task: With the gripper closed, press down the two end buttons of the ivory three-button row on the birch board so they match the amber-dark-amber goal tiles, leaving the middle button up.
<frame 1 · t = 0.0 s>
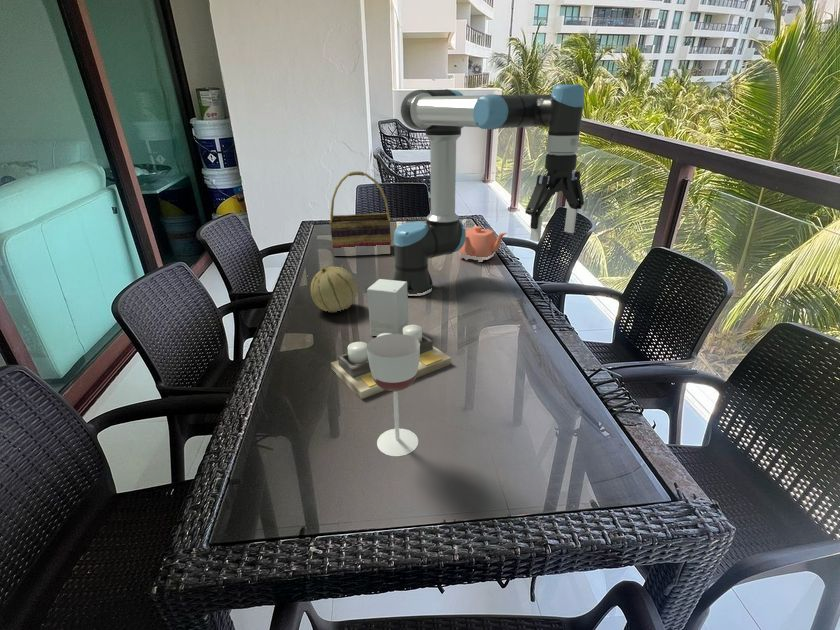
hand: (552, 236, 124), 28 cm above the table, fingers open, 13 cm apart
button 1: (358, 352, 113), point 6 cm above the table, slide at 0.0 cm
cantaloupe: (336, 310, 151), on the table
basket: (362, 251, 209), on the table
button 3: (412, 334, 121), point 6 cm above the table, slide at 0.0 cm
teapot: (477, 259, 197), on the table
wineglass: (397, 442, 92), on the table
board: (391, 367, 118), on the table
supplement box: (390, 332, 136), on the table
button 2: (386, 343, 117), point 6 cm above the table, slide at 0.0 cm
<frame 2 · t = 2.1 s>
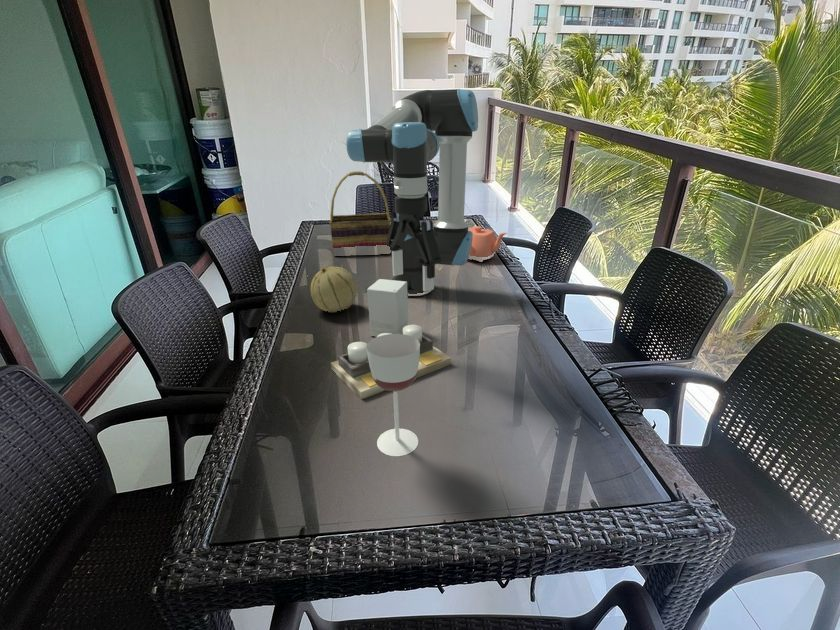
hand: (412, 282, 115), 21 cm above the table, fingers open, 13 cm apart
nothing on the table moved.
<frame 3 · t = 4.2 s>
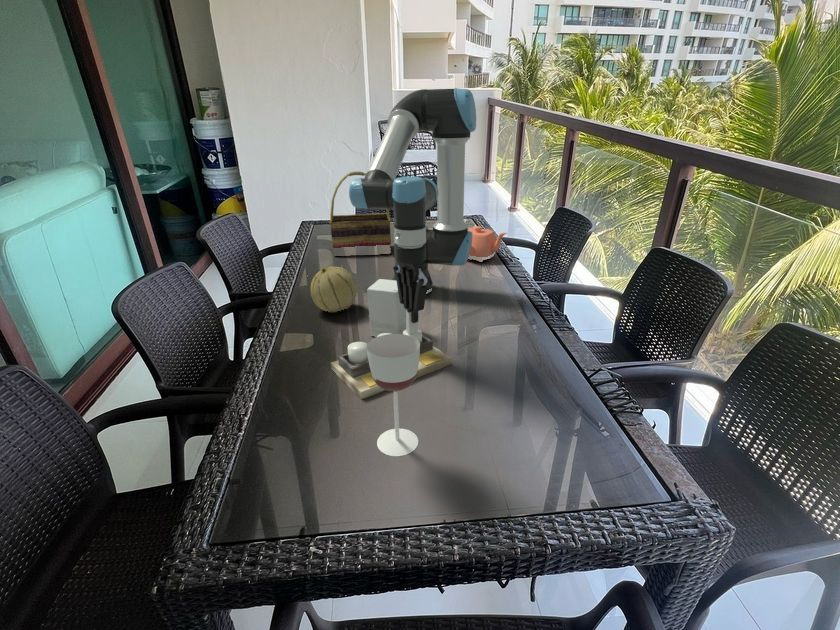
hand: (412, 331, 121), 7 cm above the table, fingers closed
button 3: (412, 338, 122), point 5 cm above the table, slide at 1.1 cm, touching gripper
everything else where it was.
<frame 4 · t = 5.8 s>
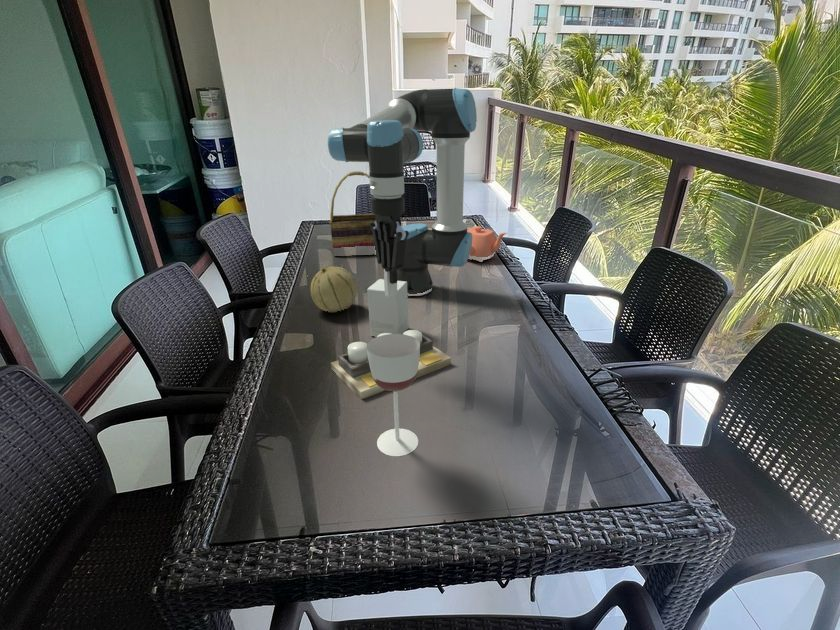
hand: (391, 294, 112), 19 cm above the table, fingers closed
button 3: (412, 340, 122), point 4 cm above the table, slide at 1.6 cm
everything else where it was.
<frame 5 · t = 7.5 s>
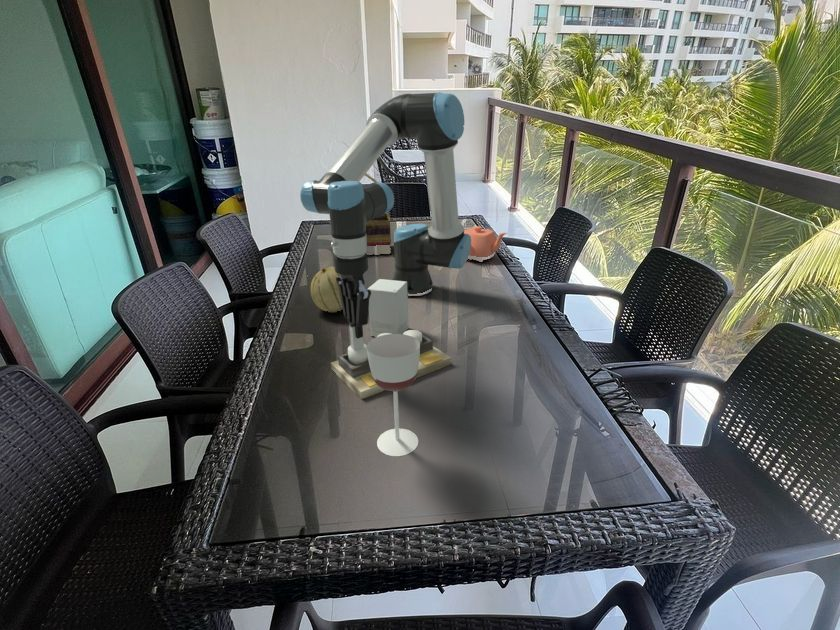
hand: (357, 347, 112), 8 cm above the table, fingers closed
button 1: (358, 354, 113), point 6 cm above the table, slide at 0.4 cm, touching gripper
everything else where it was.
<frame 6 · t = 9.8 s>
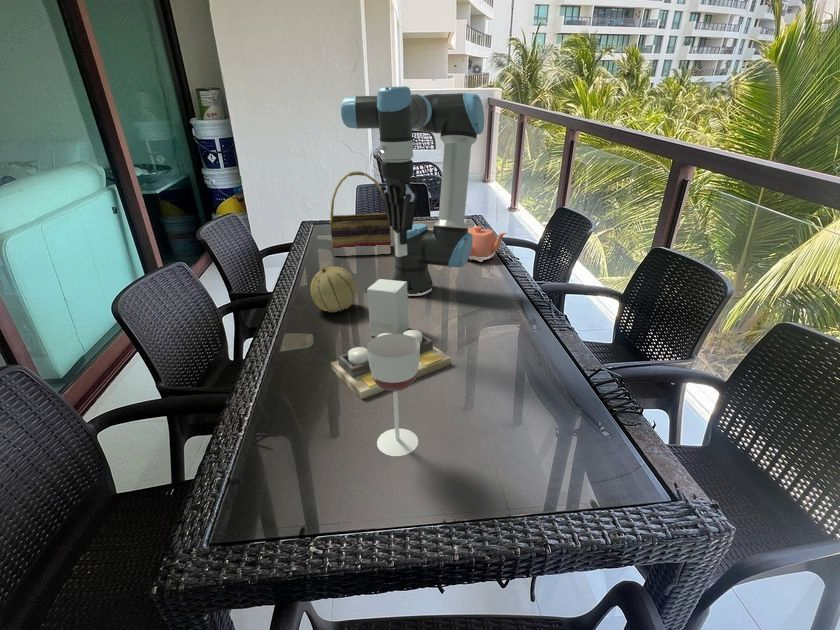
hand: (401, 255, 119), 26 cm above the table, fingers closed
button 1: (358, 358, 114), point 4 cm above the table, slide at 1.5 cm
everything else where it was.
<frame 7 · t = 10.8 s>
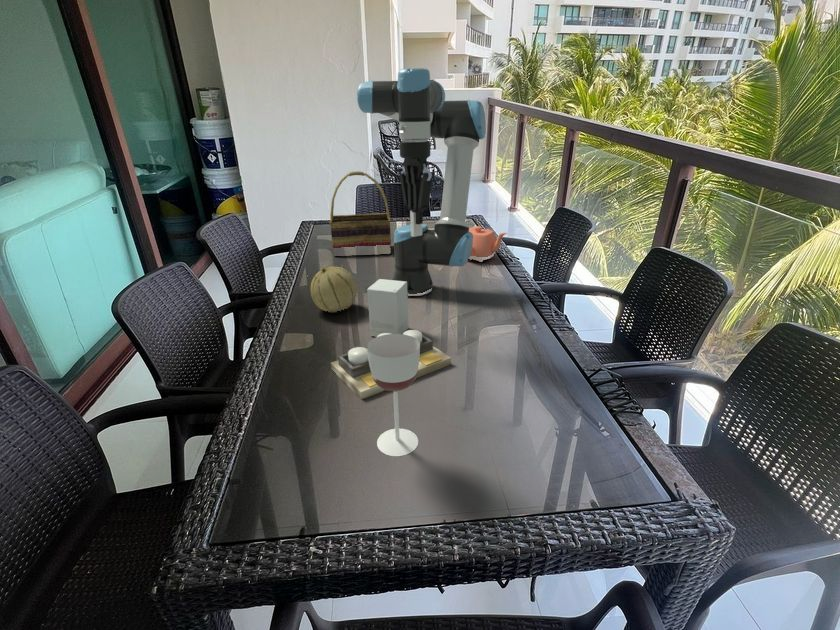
hand: (416, 235, 122), 29 cm above the table, fingers closed
nothing on the table moved.
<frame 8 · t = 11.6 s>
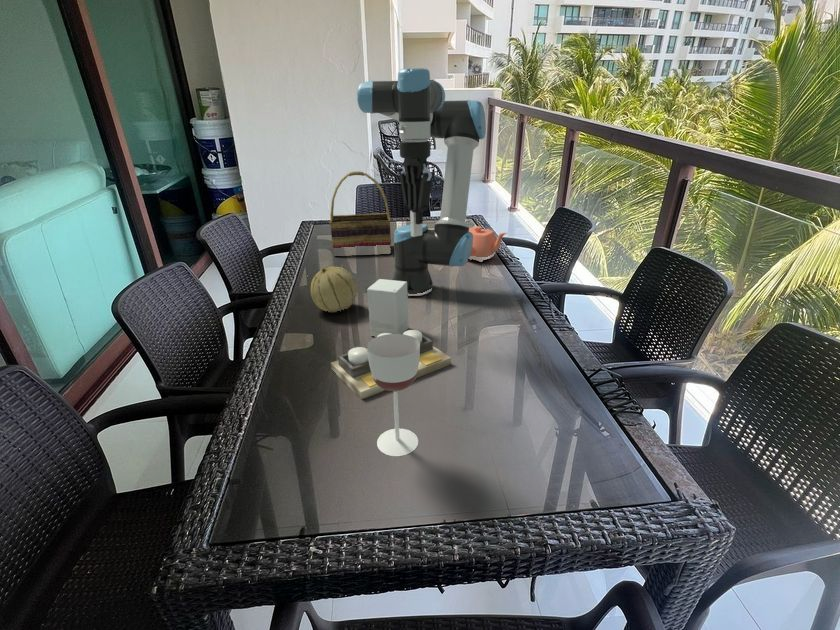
hand: (416, 235, 122), 29 cm above the table, fingers closed
nothing on the table moved.
at the end: button 3 slide at 1.6 cm; button 1 slide at 1.5 cm; button 2 slide at 0.0 cm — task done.
